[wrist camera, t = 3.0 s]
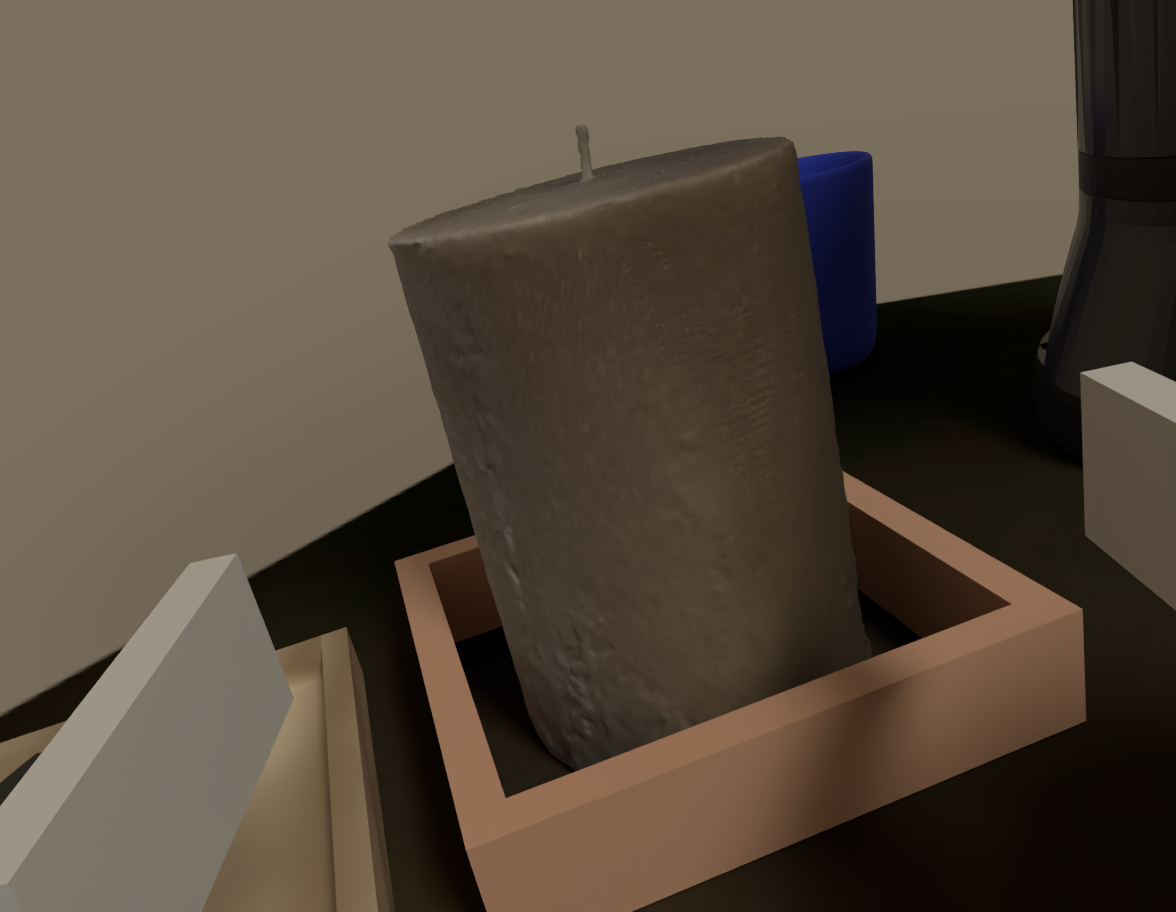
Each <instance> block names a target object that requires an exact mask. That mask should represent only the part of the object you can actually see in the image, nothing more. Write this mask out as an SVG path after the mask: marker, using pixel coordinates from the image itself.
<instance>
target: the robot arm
mask: <svg viewBox="0 0 1176 912" xmlns="http://www.w3.org/2000/svg"><path fill="white" fill-rule="evenodd" d="M1073 22H1074V23H1073V24H1074V51H1075V79H1076V80H1075V81H1076V111H1077V140H1078V159H1079V161H1078V163H1079V214H1078V220H1077V225H1076V228H1075V232H1074V236H1073V239H1072V242H1071V246H1070V249H1069V253H1068V257H1067V260H1066V264H1065V268H1064V272H1063V276H1062V280H1061V283H1060V287H1059V292H1058V296H1057V300H1056V304H1055V308H1054V313H1053V317H1052V322H1051V327H1050V330H1049V331H1048V332H1047V333H1046V334H1045V335H1044V337H1043V338H1042V339H1041V341H1040V344H1039V347H1038V349H1037V352H1036V355H1035V360H1034V392H1035V413H1036V419H1037V422H1038V424H1039V426H1040V428H1041V429H1042V431H1043V432H1044V433H1045V434H1046V435H1047V436H1048V437H1049V438H1050V439H1051V440H1053V441H1054V442H1055V443H1057V444H1058V445H1059V446H1061V447H1063V448H1064V449H1066V450H1068V451H1069V452H1071V453H1073V454H1075V455H1077V456H1080V457H1082V458H1083V478H1084V510H1085V535H1086V536H1087V537H1088V538H1089V539H1090V540H1092V541H1093V542H1094V543H1095V544H1096V545H1098V546H1099V547H1100V548H1101V549H1102V550H1104V551H1105V552H1106V553H1107V554H1108V555H1110V556H1111V557H1112V558H1113V559H1114V560H1116V561H1117V562H1118V563H1119V564H1120V565H1122V566H1123V567H1124V568H1125V569H1127V570H1128V571H1129V572H1130V573H1131V574H1133V575H1134V576H1135V577H1136V578H1137V579H1139V580H1140V581H1141V582H1142V583H1143V584H1145V585H1146V586H1147V587H1148V588H1149V589H1151V590H1152V591H1153V592H1154V593H1155V594H1157V595H1158V596H1159V597H1160V598H1161V599H1163V600H1164V601H1165V602H1166V603H1167V604H1169V605H1170V606H1171V607H1172V608H1174V609H1175V610H1176V0H1073ZM293 699H294V697H293V695H292V692H291V690H290V687H289V685H288V682H287V679H286V677H285V674H284V672H283V669H282V667H281V664H280V662H279V659H278V656H277V654H276V651H275V649H274V646H273V644H272V641H271V639H270V636H269V634H268V631H267V628H266V626H265V623H264V621H263V618H262V616H261V613H260V611H259V608H258V605H257V603H256V600H255V598H254V595H253V593H252V590H251V588H250V585H249V583H248V580H247V577H246V575H245V572H244V570H243V567H242V565H241V562H240V560H239V557H238V555H237V553H235V554H230V555H226V556H221V557H216V558H211V559H207V560H202V561H197V562H193V563H190V564H189V565H188V566H187V567H186V569H185V570H184V571H183V573H182V574H181V575H180V576H179V578H178V579H177V580H176V582H175V583H174V584H173V586H172V587H171V588H170V589H169V591H168V592H167V593H166V594H165V596H164V597H163V598H162V599H161V601H160V602H159V603H158V605H157V606H156V607H155V608H154V610H153V611H152V612H151V614H150V615H149V616H148V617H147V619H146V620H145V621H144V623H143V624H142V625H141V626H140V628H139V629H138V630H137V631H136V633H135V634H134V635H133V637H132V638H131V639H130V640H129V642H128V643H127V644H126V646H125V647H124V648H123V649H122V651H121V652H120V653H119V655H118V656H117V657H116V658H115V660H114V661H113V662H112V664H111V665H110V666H109V667H108V669H107V670H106V671H105V672H104V674H103V675H102V676H101V678H100V679H99V680H98V681H97V683H96V684H95V685H94V687H93V688H92V689H91V690H90V692H89V693H88V694H87V696H86V697H85V698H84V699H83V701H82V702H81V703H80V705H79V706H78V707H77V708H76V710H75V711H74V712H73V714H72V715H71V716H70V717H69V719H68V720H67V721H66V723H65V724H64V725H63V726H62V728H61V729H60V730H59V731H58V733H57V734H56V735H55V737H54V738H53V739H52V740H51V742H50V743H49V744H48V746H47V747H46V748H45V749H44V751H43V752H40V753H36V754H35V755H33V756H32V757H31V758H30V759H28V760H27V761H26V762H25V763H24V764H22V765H21V766H20V767H19V768H17V769H16V770H15V771H14V772H13V773H11V774H10V775H9V776H8V777H6V778H5V779H4V780H3V781H2V782H0V912H202V910H203V908H204V905H205V903H206V901H207V898H208V896H209V894H210V891H211V889H212V887H213V884H214V882H215V880H216V877H217V875H218V873H219V871H220V868H221V866H222V864H223V861H224V859H225V857H226V854H227V852H228V850H229V847H230V845H231V843H232V840H233V838H234V836H235V834H236V831H237V829H238V827H239V824H240V822H241V820H242V817H243V815H244V813H245V810H246V808H247V806H248V803H249V801H250V799H251V796H252V794H253V792H254V790H255V787H256V785H257V783H258V780H259V778H260V776H261V773H262V771H263V769H264V766H265V764H266V762H267V759H268V757H269V755H270V753H271V750H272V748H273V746H274V743H275V741H276V739H277V736H278V734H279V732H280V729H281V727H282V725H283V722H284V720H285V718H286V716H287V713H288V711H289V709H290V706H291V704H292V702H293Z"/></svg>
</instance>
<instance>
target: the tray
mask: <svg viewBox="0 0 1176 912" xmlns="http://www.w3.org/2000/svg"><path fill="white" fill-rule="evenodd" d="M276 654H277V656H278V659H279V662H280V664H281V667H282V669H283V672H284V674H285V677H286V679H287V682H288V685H289V687H290V690H291V692H292V695H293V697H294V699H293V702H292V704H291V706H290V709H289V711H288V713H287V716H286V718H285V720H284V722H283V725H282V727H281V729H280V732H279V734H278V736H277V739H276V741H275V743H274V746H273V748H272V750H271V753H270V755H269V757H268V759H267V762H266V764H265V766H264V769H263V771H262V773H261V776H260V778H259V780H258V783H257V785H256V787H255V790H254V792H253V794H252V796H251V799H250V801H249V803H248V806H247V808H246V810H245V813H244V815H243V817H242V820H241V822H240V824H239V827H238V829H237V831H236V834H235V836H234V838H233V840H232V843H231V845H230V847H229V850H228V852H227V854H226V857H225V859H224V861H223V864H222V866H221V868H220V871H219V873H218V875H217V877H216V880H215V882H214V884H213V887H212V889H211V891H210V894H209V896H208V898H207V901H206V903H205V905H204V908H203V910H202V912H395V908H394V900H393V893H392V885H391V878H390V871H389V863H388V856H387V848H386V841H385V833H384V826H383V818H382V811H381V803H380V796H379V788H378V781H377V773H376V766H375V758H374V751H373V743H372V736H371V728H370V721H369V714H368V706H367V699H366V691H365V684H364V676H363V672H362V670H361V667H360V664H359V661H358V658H357V656H356V653H355V650H354V647H353V644H352V642H351V639H350V636H349V633H348V630H347V628H346V627H345V628H342V629H339V630H336V631H333V632H330V633H327V634H324V635H321V636H318V637H315V638H312V639H310V640H307V641H304V642H301V643H298V644H295V645H292V646H289V647H286V648H283V649H280V650H277V651H276ZM65 723H66V721H65V722H62V723H59V724H56V725H53V726H50V727H47V728H44V729H41V730H38V731H35V732H32V733H29V734H26V735H23V736H20V737H17V738H14V739H11V740H8V741H5V742H2V743H0V782H2V781H3V780H4V779H5V778H6V777H8V776H9V775H10V774H11V773H13V772H14V771H15V770H16V769H17V768H19V767H20V766H21V765H22V764H24V763H25V762H26V761H27V760H28V759H30V758H31V757H32V756H33V755H35V754H36V753H40V752H43V751H44V749H45V748H46V747H47V746H48V744H49V743H50V742H51V740H52V739H53V738H54V737H55V735H56V734H57V733H58V731H59V730H60V729H61V728H62V726H63V725H64V724H65Z"/></svg>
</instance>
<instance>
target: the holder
mask: <svg viewBox="0 0 1176 912" xmlns="http://www.w3.org/2000/svg"><path fill="white" fill-rule="evenodd" d="M843 476H844V488H845V493H846V498H847V504H848V515H849V525H850V535H851V544H852V548H853V553H854V555H855V557H856V573H857V575H858V576H857V589H859V590H860V591H861V592H863V593H864V594H865V595H867V596H868V597H869V598H870V599H872V600H873V601H874V602H876V603H877V604H878V605H880V606H881V607H882V608H883V609H885V610H886V611H887V612H889V613H890V614H891V615H893V616H894V617H895V618H896V619H898V620H899V621H900V622H902V623H903V624H904V625H906V626H907V627H908V628H909V629H911V630H912V631H913V632H915V633H916V634H917V635H919V636H920V637H921V638H922V639H920V640H917V641H915V642H912V643H909V644H907V645H904V646H902V647H899V648H896V649H894V650H891V651H889V652H886V653H883V654H881V655H878V656H876V657H873V658H870V659H868V660H865V661H863V662H860V663H857V664H855V665H852V666H850V667H847V668H844V669H842V670H839V671H837V672H834V673H831V674H829V675H826V676H824V677H821V678H818V679H816V680H813V681H811V682H808V683H805V684H803V685H800V686H797V687H795V688H792V689H790V690H787V691H784V692H782V693H779V694H777V695H774V696H771V697H769V698H766V699H764V700H761V701H758V702H756V703H753V704H751V705H748V706H745V707H743V708H740V709H738V710H735V711H732V712H730V713H727V714H725V715H722V716H719V717H717V718H714V719H712V720H709V721H706V722H704V723H701V724H698V725H696V726H693V727H691V728H688V729H685V730H683V731H680V732H678V733H675V734H672V735H670V736H667V737H665V738H662V739H659V740H657V741H654V742H652V743H649V744H646V745H644V746H641V747H639V748H636V749H633V750H631V751H628V752H626V753H623V754H620V755H618V756H615V757H613V758H610V759H607V760H605V761H602V762H600V763H597V764H594V765H592V766H589V767H586V768H584V769H581V770H579V771H576V772H573V773H571V774H568V775H566V776H563V777H560V778H558V779H555V780H553V781H550V782H547V783H545V784H542V785H540V786H537V787H534V788H532V789H529V790H527V791H524V792H521V793H519V794H516V795H514V796H511V797H508V798H505V795H504V792H503V789H502V786H501V783H500V780H499V777H498V774H497V771H496V768H495V765H494V762H493V759H492V756H491V753H490V750H489V747H488V744H487V741H486V738H485V735H484V731H483V728H482V725H481V722H480V719H479V716H478V713H477V710H476V707H475V704H474V701H473V698H472V695H471V692H470V689H469V686H468V683H467V680H466V677H465V674H464V671H463V668H462V665H461V662H460V659H459V656H458V653H457V649H456V646H455V643H456V642H459V641H462V640H465V639H468V638H470V637H473V636H476V635H479V634H482V633H485V632H488V631H491V630H494V629H496V628H499V627H502V626H503V625H502V621H501V618H500V615H499V612H498V609H497V606H496V603H495V600H494V597H493V593H492V589H491V587H490V584H489V581H488V578H487V576H486V571H485V565H484V561H483V559H482V555H481V552H480V549H479V546H478V543H477V540H476V536H475V535H474V536H471V537H468V538H465V539H462V540H459V541H456V542H453V543H450V544H446V545H443V546H440V547H437V548H434V549H431V550H428V551H425V552H422V553H419V554H416V555H413V556H409V557H406V558H403V559H400V560H397V561H394V562H395V566H396V570H397V574H398V578H399V582H400V586H401V590H402V594H403V598H404V602H405V606H406V610H407V614H408V618H409V622H410V626H411V630H412V635H413V639H414V643H415V647H416V651H417V655H418V659H419V663H420V667H421V671H422V675H423V679H424V683H425V687H426V691H427V695H428V699H429V703H430V707H431V711H432V715H433V719H434V723H435V727H436V731H437V735H438V740H439V744H440V748H441V752H442V756H443V760H444V764H445V768H446V772H447V776H448V780H449V784H450V788H451V792H452V796H453V800H454V804H455V808H456V812H457V816H458V820H459V824H460V828H461V832H462V836H463V840H464V844H465V849H466V852H467V855H468V858H469V861H470V864H471V867H472V870H473V873H474V876H475V879H476V882H477V885H478V888H479V890H480V893H481V896H482V899H483V902H484V905H485V908H486V911H487V912H632V911H634V910H637V909H639V908H642V907H644V906H646V905H649V904H651V903H653V902H656V901H658V900H661V899H663V898H665V897H668V896H670V895H672V894H675V893H677V892H680V891H682V890H684V889H687V888H689V887H692V886H694V885H696V884H699V883H701V882H703V881H706V880H708V879H711V878H713V877H715V876H718V875H720V874H722V873H725V872H727V871H730V870H732V869H734V868H737V867H739V866H742V865H744V864H746V863H749V862H751V861H753V860H756V859H758V858H761V857H763V856H765V855H768V854H770V853H772V852H775V851H777V850H780V849H782V848H784V847H787V846H789V845H792V844H794V843H796V842H799V841H801V840H803V839H806V838H808V837H811V836H813V835H815V834H818V833H820V832H822V831H825V830H827V829H830V828H832V827H834V826H837V825H839V824H842V823H844V822H846V821H849V820H851V819H853V818H856V817H858V816H861V815H863V814H865V813H868V812H870V811H873V810H875V809H877V808H880V807H882V806H884V805H887V804H889V803H892V802H894V801H896V800H899V799H901V798H903V797H906V796H908V795H911V794H913V793H915V792H918V791H920V790H923V789H925V788H927V787H930V786H932V785H934V784H937V783H939V782H942V781H944V780H946V779H949V778H951V777H953V776H956V775H958V774H961V773H963V772H965V771H968V770H970V769H973V768H975V767H977V766H980V765H982V764H984V763H987V762H989V761H992V760H994V759H996V758H999V757H1001V756H1003V755H1006V754H1008V753H1011V752H1013V751H1015V750H1018V749H1020V748H1023V747H1025V746H1027V745H1030V744H1032V743H1034V742H1037V741H1039V740H1042V739H1044V738H1046V737H1049V736H1051V735H1053V734H1056V733H1058V732H1061V731H1063V730H1065V729H1068V728H1070V727H1073V726H1075V725H1077V724H1080V723H1082V722H1084V721H1086V700H1085V669H1084V639H1083V609H1082V608H1080V607H1078V606H1076V605H1075V604H1073V603H1071V602H1069V601H1068V600H1066V599H1064V598H1062V597H1061V596H1059V595H1057V594H1055V593H1054V592H1052V591H1050V590H1048V589H1047V588H1045V587H1043V586H1042V585H1040V584H1038V583H1036V582H1035V581H1033V580H1031V579H1029V578H1028V577H1026V576H1024V575H1022V574H1021V573H1019V572H1017V571H1015V570H1014V569H1012V568H1010V567H1008V566H1007V565H1005V564H1003V563H1002V562H1000V561H998V560H996V559H995V558H993V557H991V556H989V555H988V554H986V553H984V552H982V551H981V550H979V549H977V548H975V547H974V546H972V545H970V544H968V543H967V542H965V541H963V540H962V539H960V538H958V537H956V536H955V535H953V534H951V533H949V532H948V531H946V530H944V529H942V528H941V527H939V526H937V525H935V524H934V523H932V522H930V521H928V520H927V519H925V518H923V517H922V516H920V515H918V514H916V513H915V512H913V511H911V510H909V509H908V508H906V507H904V506H902V505H901V504H899V503H897V502H895V501H894V500H892V499H890V498H888V497H887V496H885V495H883V494H882V493H880V492H878V491H876V490H875V489H873V488H871V487H869V486H868V485H866V484H864V483H862V482H861V481H859V480H857V479H855V478H854V477H852V476H850V475H848V474H847V473H845V472H843Z"/></svg>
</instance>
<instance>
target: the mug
mask: <svg viewBox="0 0 1176 912" xmlns="http://www.w3.org/2000/svg"><path fill="white" fill-rule="evenodd" d="M797 159H798V165H799V183H800V188H801V192H802V196H803V202H804V207H805V214H806V221H807V227H808V234H809V242H810V248H811V255H812V262H813V269H814V274H815V279H816V286H817V294H818V305H819V311H820V321H821V329H822V335H823V343H824V349H825V353H826V358H827V364H828V371H829V375H833V374H836V373H839V372H842V371H845V370H847V369H850V368H852V367H854V366H856V365H857V364H859V363H861V362H862V361H863V360H865V359H866V358H867V357H868V355H869V354H870V353H871V351H872V349H873V347H874V344H875V339H876V333H877V310H876V275H875V240H874V239H875V237H874V203H873V202H874V201H873V164H872V156H871V155H870V154H869V153H867V152H861V151H851V152H837V153H829V154H821V155H814V156H808V157H802V158H797Z"/></svg>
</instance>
